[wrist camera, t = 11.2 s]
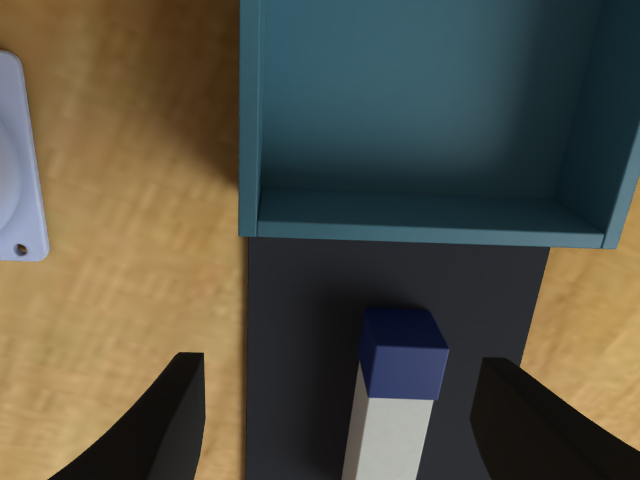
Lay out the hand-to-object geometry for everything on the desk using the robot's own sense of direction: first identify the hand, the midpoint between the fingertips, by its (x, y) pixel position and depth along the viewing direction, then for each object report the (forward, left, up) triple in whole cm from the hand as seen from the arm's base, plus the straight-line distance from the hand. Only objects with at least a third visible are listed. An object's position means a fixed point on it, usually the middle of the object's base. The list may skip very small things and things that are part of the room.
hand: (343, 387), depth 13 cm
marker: (+4, -9, -9) cm, 13 cm away
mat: (+4, -9, -9) cm, 13 cm away
